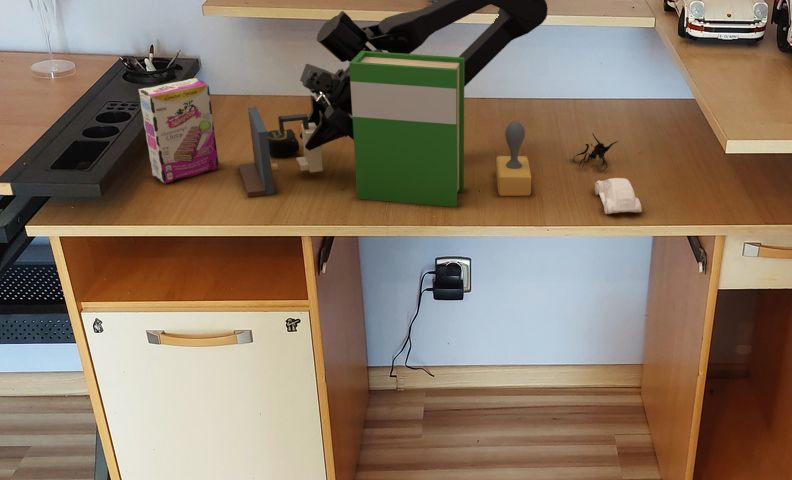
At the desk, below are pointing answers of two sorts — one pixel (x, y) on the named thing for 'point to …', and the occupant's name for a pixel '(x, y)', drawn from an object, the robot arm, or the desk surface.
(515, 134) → the rubber stamp
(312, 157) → the hanger
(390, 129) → the hardback book
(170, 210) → the desk surface
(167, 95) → the candy bar box
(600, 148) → the creature
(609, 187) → the white toy vehicle
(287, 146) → the tape measure
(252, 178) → the door
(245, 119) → the desk surface
